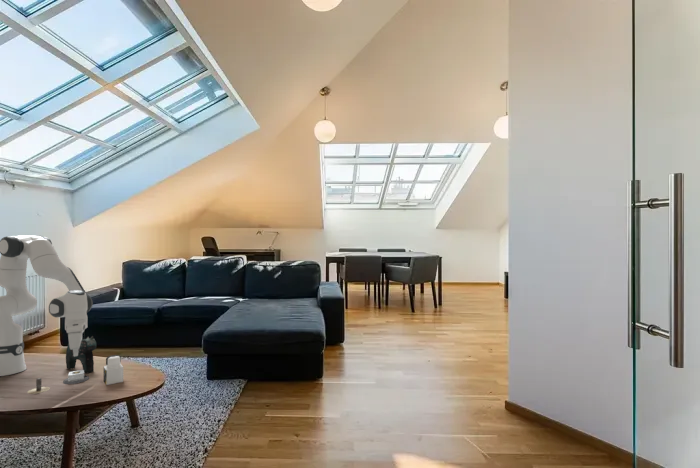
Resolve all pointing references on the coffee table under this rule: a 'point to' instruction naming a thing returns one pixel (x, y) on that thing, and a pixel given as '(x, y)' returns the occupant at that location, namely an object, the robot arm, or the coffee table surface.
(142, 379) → the coffee table surface
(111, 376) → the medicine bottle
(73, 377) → the square tunnel block
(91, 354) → the bull figurine
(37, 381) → the stand
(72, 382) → the hub
